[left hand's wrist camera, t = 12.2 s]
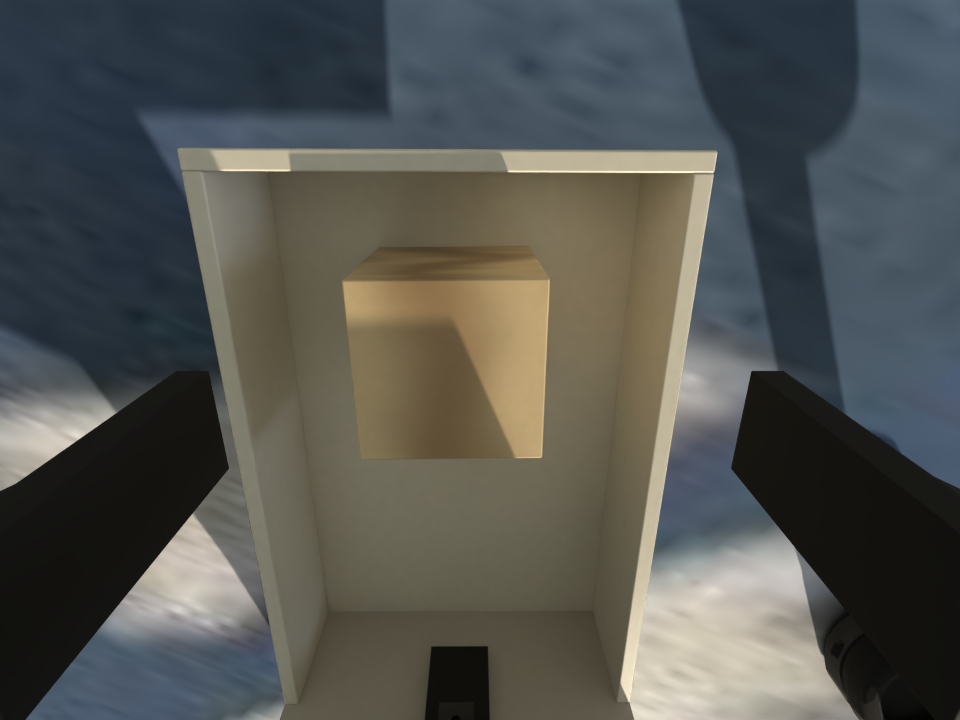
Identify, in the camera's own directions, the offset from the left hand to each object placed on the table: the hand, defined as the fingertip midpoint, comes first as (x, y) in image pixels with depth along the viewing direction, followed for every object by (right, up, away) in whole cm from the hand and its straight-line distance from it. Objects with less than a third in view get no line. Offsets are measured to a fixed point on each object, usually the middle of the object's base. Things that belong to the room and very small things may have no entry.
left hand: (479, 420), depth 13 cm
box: (-1, -1, +11) cm, 11 cm away
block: (-1, +3, +9) cm, 9 cm away
